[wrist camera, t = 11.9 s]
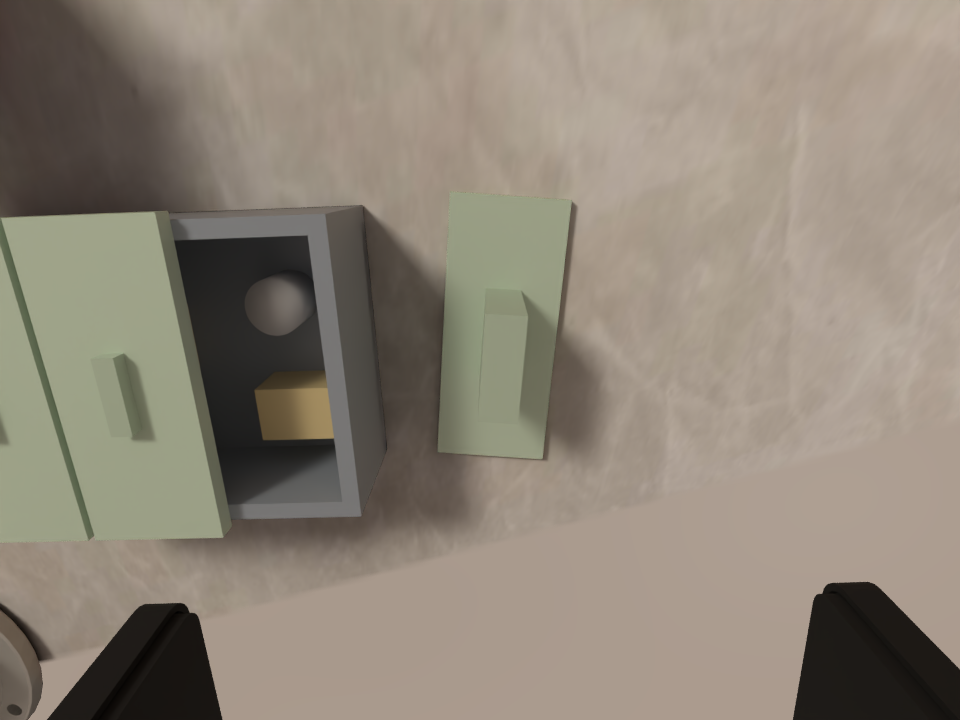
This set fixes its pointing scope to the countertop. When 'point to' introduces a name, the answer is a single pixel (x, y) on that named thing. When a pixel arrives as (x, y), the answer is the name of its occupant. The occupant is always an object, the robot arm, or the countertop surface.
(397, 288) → the countertop surface
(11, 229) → the lid fixed
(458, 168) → the countertop surface
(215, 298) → the grey flat box
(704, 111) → the countertop surface
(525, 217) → the end lid
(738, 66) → the countertop surface
